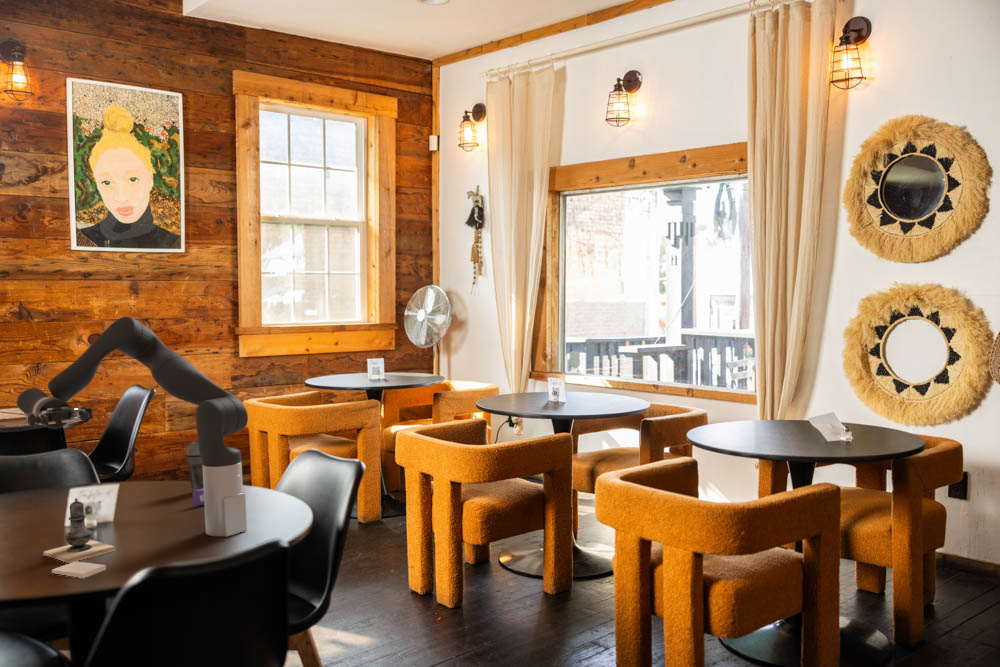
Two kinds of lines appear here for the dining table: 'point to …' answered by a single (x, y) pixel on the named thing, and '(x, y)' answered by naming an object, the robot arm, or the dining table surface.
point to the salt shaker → (77, 529)
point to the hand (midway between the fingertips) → (66, 418)
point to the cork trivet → (70, 557)
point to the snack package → (198, 497)
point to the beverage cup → (195, 466)
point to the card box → (79, 569)
